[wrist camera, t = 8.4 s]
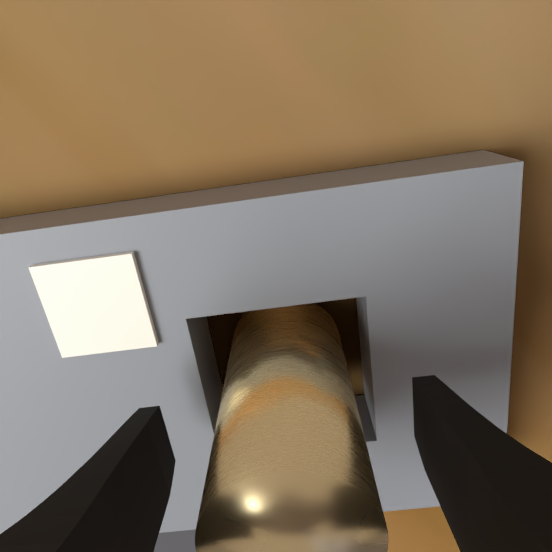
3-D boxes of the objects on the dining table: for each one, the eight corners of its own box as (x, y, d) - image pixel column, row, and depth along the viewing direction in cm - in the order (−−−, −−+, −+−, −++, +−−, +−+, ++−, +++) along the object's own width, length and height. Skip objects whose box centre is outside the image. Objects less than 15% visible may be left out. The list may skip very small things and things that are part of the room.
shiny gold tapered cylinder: (339, 292, 16) (390, 466, 9) (341, 387, 17) (386, 604, 10) (226, 299, 16) (181, 476, 9) (238, 392, 18) (208, 611, 10)
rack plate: (483, 149, 14) (527, 162, 12) (474, 449, 18) (505, 504, 16) (-119, 235, 15) (-197, 263, 13) (9, 496, 20) (-31, 555, 17)
